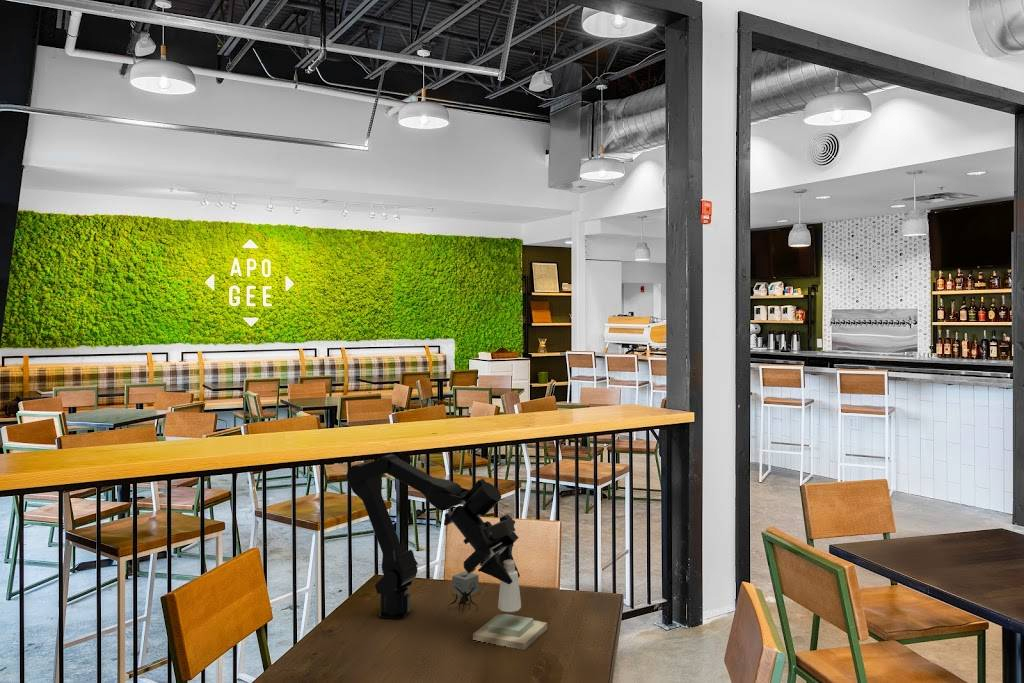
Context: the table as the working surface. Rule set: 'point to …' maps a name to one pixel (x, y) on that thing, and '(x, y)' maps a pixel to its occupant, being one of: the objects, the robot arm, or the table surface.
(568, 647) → the table surface
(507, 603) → the salt shaker
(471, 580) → the dice cube
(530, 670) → the table surface
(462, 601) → the creature
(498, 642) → the plinth
